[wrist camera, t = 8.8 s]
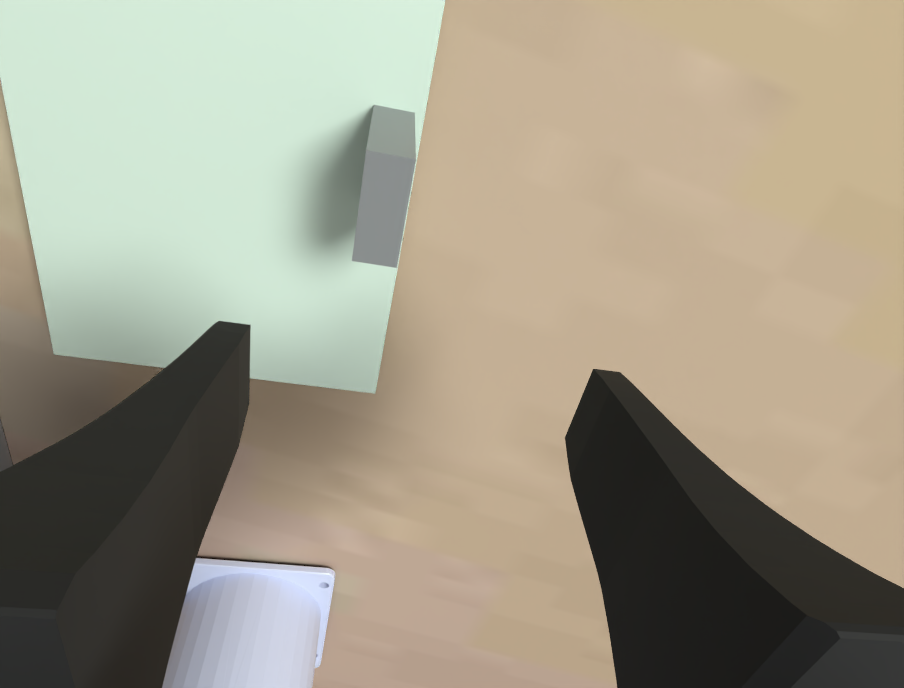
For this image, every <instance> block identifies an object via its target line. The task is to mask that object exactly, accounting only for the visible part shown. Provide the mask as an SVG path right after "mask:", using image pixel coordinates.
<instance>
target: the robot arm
mask: <svg viewBox="0 0 904 688" xmlns="http://www.w3.org/2000/svg"><path fill="white" fill-rule="evenodd" d="M250 330H251V325H248V324H241V323H233V322H225V321H218V322H216V323H215V324H213V325H212V326H211V327H210V328H209V329H208V330H207V331H206V332H205V333H204V334H203V335H202V336H200V337H199V338H198V339H197V340H196V341H195V342H194V343H193V344H192V345H191V346H190V347H189V348H187V349H186V350H185V351H184V352H183V353H182V354H181V355H180V356H179V357H177V358H176V359H175V360H174V361H173V362H172V363H170V364H169V365H168V366H167V367H166V368H164V369H163V370H162V371H161V372H160V373H158V374H157V375H156V376H155V377H154V378H152V379H151V380H150V381H149V382H147V383H146V384H145V385H143V386H142V387H141V388H139V389H138V390H137V391H135V392H134V393H133V394H131V395H130V396H129V397H127V398H126V399H125V400H123V401H122V402H121V403H119V404H118V405H117V406H115V407H114V408H112V409H111V410H109V411H108V412H107V413H105V414H104V415H102V416H101V417H99V418H98V419H96V420H95V421H93V422H91V423H90V424H88V425H87V426H85V427H83V428H82V429H80V430H79V431H77V432H75V433H74V434H72V435H70V436H69V437H67V438H65V439H63V440H61V441H59V442H58V443H56V444H54V445H52V446H50V447H48V448H46V449H44V450H42V451H40V452H38V453H37V454H35V455H33V456H31V457H29V458H27V459H25V460H23V461H21V462H19V463H17V464H15V465H13V466H11V467H9V468H7V469H5V470H3V471H0V688H312V686H313V678H314V670H315V668H317V667H319V666H320V664H321V658H322V652H323V646H324V640H325V634H326V628H327V622H328V616H329V610H330V604H331V598H332V593H333V587H334V581H335V572H334V571H333V570H332V569H330V568H323V567H310V566H297V565H284V564H270V563H257V562H244V561H231V560H218V559H204V558H196V557H197V554H198V551H199V548H200V545H201V542H202V539H203V537H204V534H205V532H206V529H207V526H208V524H209V521H210V519H211V516H212V514H213V511H214V509H215V506H216V503H217V501H218V498H219V496H220V493H221V491H222V488H223V485H224V483H225V480H226V478H227V475H228V472H229V470H230V467H231V465H232V462H233V459H234V457H235V454H236V451H237V449H238V446H239V442H240V438H241V434H242V430H243V426H244V422H245V418H246V414H247V410H248V406H249V383H250ZM565 441H566V449H567V457H568V464H569V471H570V477H571V481H572V485H573V489H574V492H575V496H576V500H577V503H578V507H579V510H580V514H581V517H582V520H583V524H584V527H585V531H586V534H587V538H588V541H589V544H590V548H591V551H592V555H593V558H594V561H595V565H596V568H597V572H598V576H599V580H600V584H601V589H602V594H603V599H604V605H605V611H606V616H607V622H608V627H609V633H610V640H611V647H612V653H613V660H614V667H615V673H616V680H617V688H904V588H902V587H900V586H898V585H896V584H894V583H892V582H890V581H888V580H886V579H884V578H882V577H880V576H878V575H876V574H875V573H873V572H871V571H869V570H867V569H866V568H864V567H862V566H860V565H859V564H857V563H855V562H853V561H852V560H850V559H848V558H846V557H845V556H843V555H841V554H839V553H838V552H836V551H834V550H833V549H831V548H830V547H828V546H826V545H825V544H823V543H821V542H820V541H818V540H817V539H815V538H813V537H812V536H810V535H809V534H807V533H806V532H804V531H803V530H801V529H800V528H798V527H797V526H795V525H794V524H792V523H791V522H789V521H788V520H786V519H785V518H783V517H782V516H781V515H779V514H778V513H776V512H775V511H774V510H772V509H771V508H769V507H768V506H767V505H765V504H764V503H763V502H761V501H760V500H759V499H757V498H756V497H755V496H754V495H752V494H751V493H750V492H748V491H747V490H746V489H745V488H743V487H742V486H741V485H739V484H738V483H737V482H736V481H734V480H733V479H732V478H731V477H730V476H728V475H727V474H726V473H725V472H724V471H723V470H721V469H720V468H719V467H718V466H717V465H716V464H715V463H714V462H712V461H711V460H710V459H709V458H708V457H707V456H706V455H705V454H703V453H702V452H701V451H700V450H699V449H698V448H697V447H696V446H695V445H694V444H693V443H692V442H691V441H689V440H688V439H687V438H686V437H685V436H684V435H683V434H682V433H681V432H680V431H679V430H678V429H677V428H676V427H675V426H674V425H673V424H672V423H671V422H670V421H669V420H668V419H667V418H666V417H665V416H664V415H663V414H662V413H661V412H660V411H659V410H658V409H657V408H656V407H655V406H654V405H653V404H652V403H651V402H650V401H649V400H648V399H647V398H646V397H645V396H644V395H643V394H642V393H641V392H640V391H639V390H638V389H637V388H636V387H635V386H634V385H633V384H632V383H631V382H630V381H629V380H628V379H627V378H626V377H625V376H624V375H622V374H621V373H620V372H614V371H606V370H598V369H593V371H592V373H591V376H590V378H589V381H588V383H587V386H586V388H585V390H584V393H583V395H582V398H581V400H580V403H579V405H578V407H577V410H576V412H575V415H574V417H573V420H572V422H571V424H570V427H569V429H568V432H567V434H566V437H565Z"/></svg>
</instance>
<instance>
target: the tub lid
mask: <svg viewBox="0 0 904 688" xmlns="http://www.w3.org/2000/svg"><path fill="white" fill-rule="evenodd" d="M444 5H445V0H0V79H1V84H2V89H3V94H4V100H5V105H6V110H7V115H8V120H9V125H10V131H11V136H12V141H13V146H14V151H15V156H16V162H17V167H18V172H19V177H20V182H21V187H22V192H23V198H24V203H25V208H26V213H27V218H28V223H29V229H30V234H31V239H32V244H33V249H34V254H35V260H36V265H37V270H38V275H39V280H40V285H41V290H42V296H43V301H44V306H45V311H46V316H47V321H48V327H49V332H50V337H51V342H52V347H53V352H54V355H62V356H71V357H79V358H87V359H95V360H104V361H112V362H120V363H128V364H136V365H145V366H153V367H161V368H166V367H167V366H168V365H169V364H170V363H172V362H173V361H174V360H175V359H176V358H177V357H179V356H180V355H181V354H182V353H183V352H184V351H185V350H186V349H187V348H189V347H190V346H191V345H192V344H193V343H194V342H195V341H196V340H197V339H198V338H199V337H200V336H202V335H203V334H204V333H205V332H206V331H207V330H208V329H209V328H210V327H211V326H212V325H213V324H215V323H216V322H218V321H225V322H233V323H241V324H248V325H251V330H250V378H251V379H260V380H268V381H276V382H284V383H292V384H301V385H309V386H317V387H325V388H334V389H342V390H350V391H358V392H366V393H375V392H376V386H377V381H378V375H379V370H380V364H381V358H382V353H383V347H384V342H385V336H386V330H387V325H388V319H389V314H390V308H391V302H392V297H393V291H394V285H395V280H396V274H397V269H398V263H399V257H400V252H401V246H402V241H403V235H404V229H405V224H406V218H407V212H408V207H409V201H410V196H411V190H412V184H413V179H414V173H415V168H416V162H417V156H418V151H419V145H420V139H421V134H422V128H423V123H424V117H425V111H426V106H427V100H428V95H429V89H430V83H431V78H432V72H433V66H434V61H435V55H436V50H437V44H438V38H439V33H440V27H441V22H442V16H443V10H444Z"/></svg>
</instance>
